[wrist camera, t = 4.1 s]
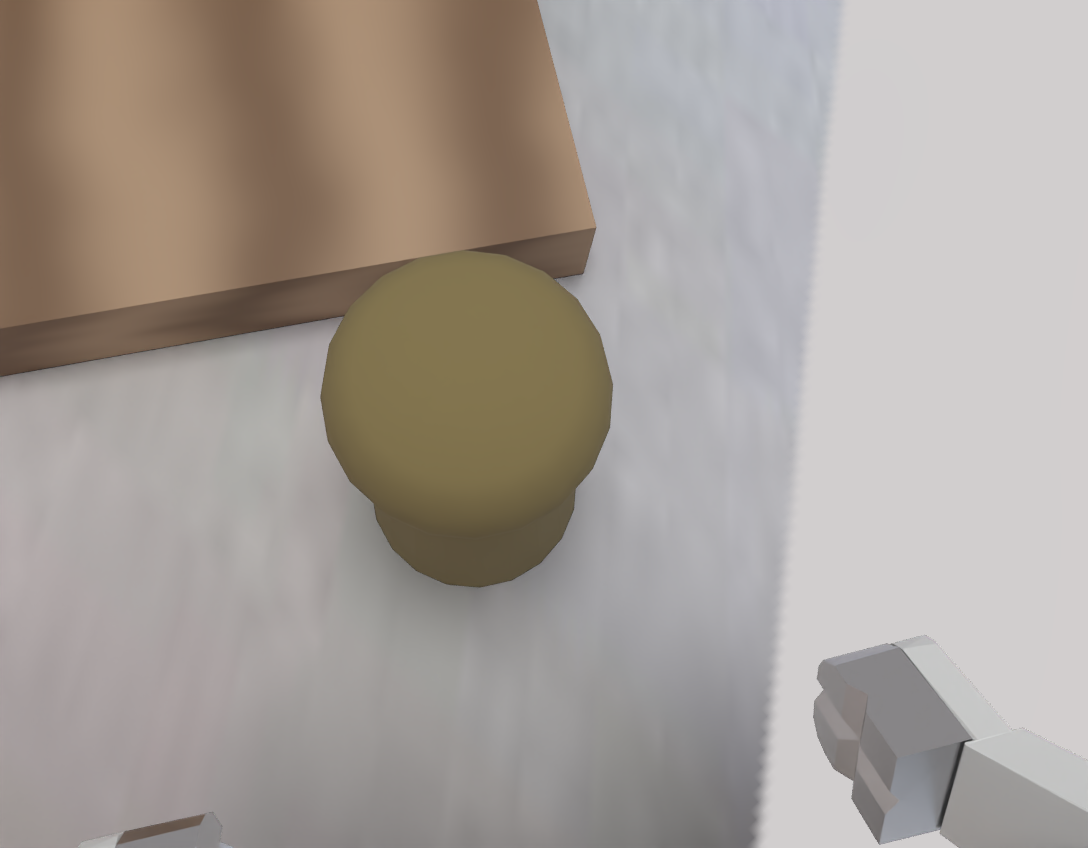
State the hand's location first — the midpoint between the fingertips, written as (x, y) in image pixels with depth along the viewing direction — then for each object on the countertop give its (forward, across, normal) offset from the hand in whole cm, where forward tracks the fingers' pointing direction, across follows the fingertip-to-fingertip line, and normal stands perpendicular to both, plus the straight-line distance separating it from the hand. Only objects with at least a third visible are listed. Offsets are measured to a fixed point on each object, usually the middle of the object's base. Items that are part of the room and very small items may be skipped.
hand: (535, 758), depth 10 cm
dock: (+22, +4, -5) cm, 23 cm away
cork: (+13, 0, +4) cm, 13 cm away
